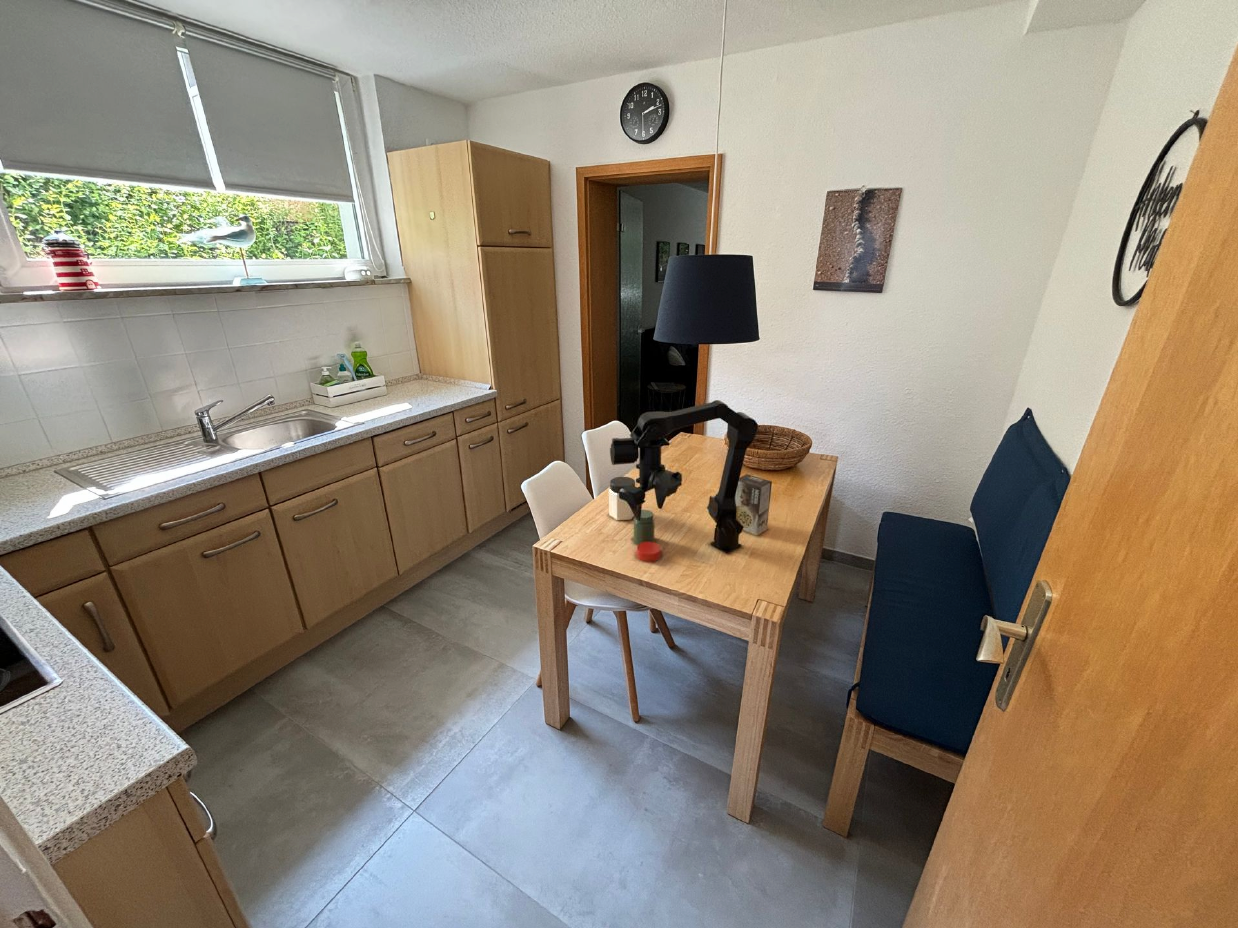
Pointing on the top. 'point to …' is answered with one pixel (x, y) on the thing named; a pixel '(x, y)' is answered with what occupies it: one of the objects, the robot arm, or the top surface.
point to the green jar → (644, 528)
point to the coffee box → (753, 503)
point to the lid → (648, 551)
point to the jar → (618, 506)
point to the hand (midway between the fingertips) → (649, 514)
